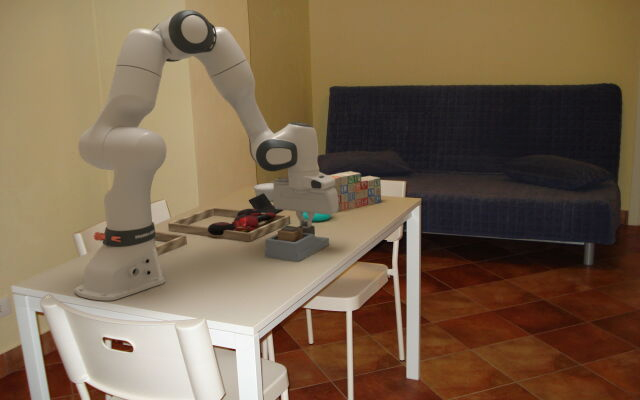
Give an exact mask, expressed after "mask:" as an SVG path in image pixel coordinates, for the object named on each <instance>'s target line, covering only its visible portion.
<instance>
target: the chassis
mask: <svg viewBox="0 0 640 400" xmlns="http://www.w3.org/2000/svg"><path fill="white" fill-rule="evenodd" d="M264 241H265V248H264V249H263V251H264V257H265V258H270V259H277V260H284V261H291V262H301V261H302V260H305V259H306V258H308V257H310V256H312V255H313V254H315V253H317V252H319V251H320V250H323V249H324V248H326V247H328V246H329V245H330V238H329V237H323V236H316V233H315V234H310V233H303V238H302V239H300V240H298V241H297V242H289V241H281V240H278V233H277V234H274V235H272V236H270V237H268V238H266V239H265V240H264Z"/></svg>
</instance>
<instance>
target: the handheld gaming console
mask: <svg viewBox="0 0 640 400" xmlns="http://www.w3.org/2000/svg"><path fill="white" fill-rule="evenodd" d="M248 202H249V204H250V205H251V206H252V209H257V210H259V211H260V212H261V213H267V212H270V213H274V214H279V213H281V212H283V211H284V210H280V209H275V207H274V206H273V203H272V201H269V200H268V198H267V197H266V195H265V194H264V193H263V194H261V195H258V196H256V195H255V197H254V196H253V197H252V198H250V199H248Z"/></svg>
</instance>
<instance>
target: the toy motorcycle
mask: <svg viewBox="0 0 640 400" xmlns="http://www.w3.org/2000/svg"><path fill="white" fill-rule="evenodd" d="M275 215H276V214H274V213H270V212H267V213H266V214H264V215H262V216H261V212H260V211H259V210H257V209H254V208H245V209H242V210H241V211H240V212H238V214H237V217H236V218H234V219H233V221H232V222H231V223H230V222H225V221H221V222H220V221H217V222H214V223H211V224H210V225H208V232H209V233H210V234H212V235H222V234H223V233H224V231H225V230H231V231H239V232H248V231H249V232H251V231H253V230H255V229H258V228H259V223H261V222H266V221H265V220H270V219H273V218H274V217H275Z"/></svg>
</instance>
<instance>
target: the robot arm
mask: <svg viewBox="0 0 640 400" xmlns="http://www.w3.org/2000/svg"><path fill="white" fill-rule="evenodd" d="M191 57H194V58H196V59H197V60H198V61H199V62H201V64H202V65H203V67H204V69H205V70H206V73H207V74H208V77H209V78H210V80H211V82H212V84H213V86H214V87H215V89H216V90H217V92H218V94H220V96H221V97H222V98H223V99H224V100H225V102H227V103H228V104H229V105H230V106H231V107H232V108H233V110H234V112H236V114H237V116H238V118H239V120H240V122H241V125H242V126H243V128H244V130H245V132H246V134H247V137H248V141H249V154H250V156H251V158H252V160H253V161H254V162H255V163H256V164H257V165H258V166H259V167H260V168H261V169H263V170H264V171H268V172H278V171H282V170H286V169H287V177H284V178H283V177H277V178H276V179H274V181H273V182H272V183H273V185H274V193H273V201H272V205H273V206H274V207H275V209H280V210H283V211H291V212H295V215H296V217H297V219H298V221H299V226H303V227H311V226H312V225H313V224H312V223H313V222H312V219H313V217H314V215H315V213H318V214H327V215H331V216H332V215H335V214H336V213H338V212H339V211H338V208H339V205H338V195H337V191H336V189H335V188H334V187H333V186H334V185H335V179H334V178H332V177H330V176H327V175H328V174H326V173H324V172H321V171H320V166H319V163H318V158H319V144H318V143H319V142H318V135H317V134H318V133H317V132H316V128H314V127H313V125H311V124H308V123H304V122H296V121H294V122H293V121H292V122H289V123H288V124H287V125H286V126H284V127H283V128H282V129H280V130H278V131H277V132H274V131H273V130H272V129H270V127H269V125H268V123H267V122H266V119H265V118H264V116H263V114H262V112H261V110H260V108H259V105H258V103H257V100H256V95H255V92H256V91H255V90H256V80H255V77H254V74H253V70H252V68H251V66H250V62H249V61H248V59H247V56H246V54H245V53H244V51H243V50H242V48H241V46H240V45H239V43H238V41H237V40H236V39H235V38H234V35H233V34H231V32H230V31H229V30H228V29H227V28H226V27H222V26H214V24H212V23H211V22H210V21H209V20H208V19H207V17H206V16H204V15H203V14H202V13H200V12H199V11H195V10H191V9H187V10H186V9H185V10H180V11H178V12H177V13H174V14H172V15H169V16H167V17H166V18H165V19H163V20H162V21H161V22H159V23H158V24H157V25H155V26H154V27H153V28H152V29H149V28H145V27H144V28H142V27H140V28H134V29H131V30H130V31H129V32H128V33H127V35H126V37H125V39H124V41H123V43H122V46H121V48H120V51H119V55H118V57H117V61H116V66H115V69H114V74H113V77H112V83H111V86H110V90H109V93H108V97H107V99H106V102H105V103H104V105H103V107H102V110H101V111H100V113H99V114H98V116H97V118H96V119H95V121H94V122H93V124H92V125H90V127H89V128H88V129H86V130H85V131H84V132H83V133H82V134H81V136H80V138H79V140H78V151H79V156H80V157H81V159H82V160H83V161H84V162H86V163H87V164H89V165H90V166H93V167H96V168H98V169H101V170H109V171H113V181H112V185H111V188H110V189H109V190H108V191H107V192H106V193H105V194H104V197H103V206H104V213H105V214H104V215H105V221H106V223H105V224H106V227H105V228H104V233H103V232H99V231H96V232H95V233H94V234H93V239H94V240H95V241H100V242H102V245H101V246H100V247H99V249H98V250H97V251H96V252H95V254H94V255H93V256H92V258H91V259H90V260H89V261H88V262H87V264H86V265H85V267H84V270H83V283H81V284H80V285H78V286H77V287H75V288H74V294H75V295H77V296H79V297H81V298H85V299H89V300H93V301H94V300H95V301H115V300H119V299H122V298H124V297H128V296H130V295H133V294H136V293H140V292H143V291H145V290H148V289H150V288H154V287H156V286H159V285H163V284H164V283H165V282H166V281H165V278H164V277H165V273H164V271H163V268H162V265H161V262H160V258H159V255H158V253H157V249H156V246H157V245H156V242H155V241H156V240H154V237H155V231H156V228H155V222H154V221H153V215H152V204H151V203H152V202H151V190H152V185H153V180H154V178H155V175H156V173H157V171H158V170H159V169H160V168H161V167H162V166H163V164H164V162H165V161H166V158H167V145H166V142H165V139H164V138H163V137H162V136H161V134H159V133H157V132H155V131H153V130H150V129H147V128H144V127H139V126H140V124H141V123H142V121H143V120H144V118H145V117H147V116H148V115H149V114H151V112H152V111H154V109H155V107H156V103H157V99H158V94H159V88H160V83H161V80H162V74H163V70H164V66H165V64H166V62H170V63H175V62H179V61H181V60H185V59H188V58H191ZM337 211H338V212H337ZM304 212H307V216H309V217H308V219H307V220H305V218H304V216H303V213H304Z"/></svg>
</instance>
